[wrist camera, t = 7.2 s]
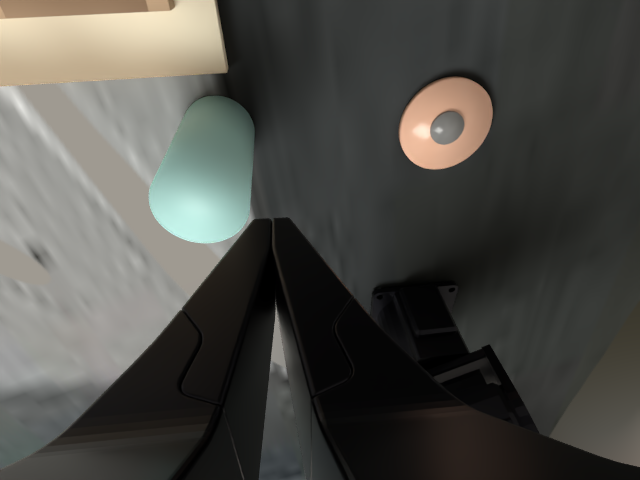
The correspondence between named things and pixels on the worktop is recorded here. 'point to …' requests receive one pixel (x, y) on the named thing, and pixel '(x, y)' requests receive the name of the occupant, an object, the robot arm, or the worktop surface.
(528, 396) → the worktop surface
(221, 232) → the peg
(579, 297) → the worktop surface
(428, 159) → the peach flat disc
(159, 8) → the board
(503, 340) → the worktop surface
